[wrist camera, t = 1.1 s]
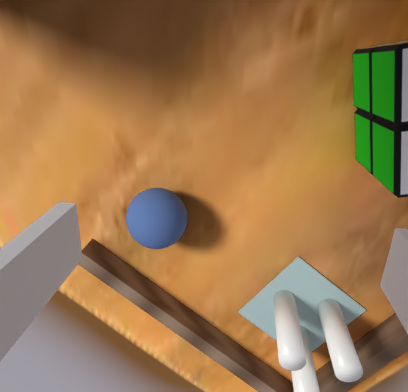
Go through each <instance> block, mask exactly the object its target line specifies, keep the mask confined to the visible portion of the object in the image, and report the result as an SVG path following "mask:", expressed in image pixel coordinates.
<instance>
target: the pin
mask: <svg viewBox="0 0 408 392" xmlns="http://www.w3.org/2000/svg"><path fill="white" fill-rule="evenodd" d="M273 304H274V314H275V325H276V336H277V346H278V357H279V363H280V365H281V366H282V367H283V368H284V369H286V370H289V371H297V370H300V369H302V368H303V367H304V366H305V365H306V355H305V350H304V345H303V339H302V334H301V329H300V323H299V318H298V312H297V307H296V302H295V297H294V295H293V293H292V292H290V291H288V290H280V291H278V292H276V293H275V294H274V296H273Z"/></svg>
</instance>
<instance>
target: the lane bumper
mask: <svg viewBox="0 0 408 392" xmlns="http://www.w3.org/2000/svg"><path fill="white" fill-rule="evenodd" d="M78 264H79V265H80V266H81V267H83V268H84V269H86V270H87V271H89V272H90V273H91V274H93V275H94V276H96V277H97V278H98V279H100V280H101V281H103V282H104V283H106V284H107V285H108V286H110V287H111V288H113V289H114V290H115V291H117V292H118V293H120V294H121V295H122V296H124V297H125V298H127V299H128V300H130V301H131V302H132V303H134V304H135V305H137V306H138V307H139V308H141V309H142V310H144V311H145V312H147V313H148V314H149V315H151V316H152V317H154V318H155V319H156V320H158V321H159V322H161V323H162V324H164V325H165V326H166V327H168V328H169V329H171V330H172V331H173V332H175V333H176V334H178V335H179V336H181V337H182V338H183V339H185V340H186V341H188V342H189V343H190V344H192V345H193V346H195V347H196V348H197V349H199V350H200V351H202V352H203V353H205V354H206V355H207V356H209V357H210V358H212V359H213V360H214V361H216V362H217V363H219V364H220V365H222V366H223V367H224V368H226V369H227V370H229V371H230V372H231V373H233V374H234V375H236V376H237V377H239V378H240V379H241V380H243V381H244V382H246V383H247V384H248V385H250V386H251V387H253V388H254V389H256V390H257V391H258V392H294V388H293V383H291V382H290V381H289V380H287V379H286V378H284V377H283V376H282V375H280V374H279V373H277V372H276V371H275V370H273V369H272V368H271V367H269V366H268V365H266V364H265V363H264V362H262V361H261V360H259V359H258V358H257V357H255V356H254V355H253V354H251V353H250V352H248V351H247V350H246V349H244V348H243V347H241V346H240V345H239V344H237V343H236V342H235V341H233V340H232V339H230V338H229V337H228V336H226V335H225V334H223V333H222V332H221V331H219V330H218V329H217V328H215V327H214V326H212V325H211V324H210V323H208V322H207V321H205V320H204V319H203V318H201V317H200V316H199V315H197V314H196V313H194V312H193V311H192V310H190V309H189V308H187V307H186V306H185V305H183V304H182V303H181V302H179V301H178V300H176V299H175V298H174V297H172V296H171V295H170V294H168V293H167V292H165V291H164V290H163V289H161V288H160V287H158V286H157V285H156V284H154V283H153V282H152V281H150V280H149V279H147V278H146V277H145V276H143V275H142V274H140V273H139V272H138V271H136V270H135V269H134V268H132V267H131V266H129V265H128V264H127V263H125V262H124V261H122V260H121V259H120V258H118V257H117V256H116V255H114V254H113V253H111V252H110V251H109V250H107V249H106V248H104V247H103V246H102V245H100V244H99V243H98V242H96V241H95V240H93V239H92V240H91V241H90V242H89V243H88V244H87V246H86V247H85V248H84V249H83V250H82V260H81V261H80V262H79V263H78ZM354 347H355V350H356V352H357V355H358V358H359V361H360V363H361V366H362V369H363V375H362V377H361V378H360V379H359V380H357V381H354V382H343V381H341V380H339V379H338V378H337V377H336V376H335V372H334V369H333V365H332V361H329V362H328V363H327V364H325V365H324V366H323V367H321V368H320V369H318V370H317V371H316V376H317V381H318V385H319V390H320V392H346V391H348V390H349V389H351V388H352V387H354V386H355V385H357V384H358V383H360V382H361V381H363V380H364V379H366V378H367V377H369V376H370V375H372V374H373V373H375V372H376V371H378V370H379V369H380V368H382V367H383V366H385V365H386V364H388V363H389V362H391V361H392V360H394V359H395V358H397V357H398V356H400V355H401V354H403V353H404V352H406V351H407V350H408V334H407V332H406V331H405V329H404V327H403V325H402V324H401V322H400V320H399V318H398V317H397V315H396V313H395V314H393V315H392V316H391V317H389V318H388V319H387V320H385V321H384V322H383V323H381V324H380V325H378V326H377V327H376V328H374V329H373V330H372V331H370V332H369V333H368V334H366V335H365V336H363V337H362V338H361V339H359V340H358V341H357V342H355V343H354Z"/></svg>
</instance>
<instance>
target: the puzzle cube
mask: <svg viewBox="0 0 408 392" xmlns="http://www.w3.org/2000/svg"><path fill="white" fill-rule="evenodd" d="M353 84H354V106H355V107H356V108H358V110H357V111H356V112H355V144H356V160H357V161H358V162H359V163H360V164H361V165H362V166H364V167H365V168H366V169H367V170H368V171H369V172H370V173H371V174H372V175H373V176H374V177H376V178H377V179H378V180H379V181H380V182H381V183H382V184H383V185H384V186H385V187H386V188H388V189H389V190H390V191H391V192H392V193H393V194H394V195H396V196H397V197H398V198H399V197H408V40H405V41H400V42H394V43H389V44H383V45H378V46H372V47H367V48H361V49H356V51H355V52H354V53H353Z"/></svg>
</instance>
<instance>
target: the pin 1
mask: <svg viewBox="0 0 408 392" xmlns="http://www.w3.org/2000/svg"><path fill="white" fill-rule="evenodd" d="M300 329H301V334H302V339H303V345H304V350H305V355H306V365H305V366H304V367H303V368H302V369H300V370H297V371H291V373H292V381H293V388H294V392H320V390H319V385H318V381H317V376H316V371H315V366H314V361H313V357H312V352H311V347H310V342H309V338H308V333H307V330H306V328H305V327H303V326H301V325H300Z"/></svg>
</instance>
